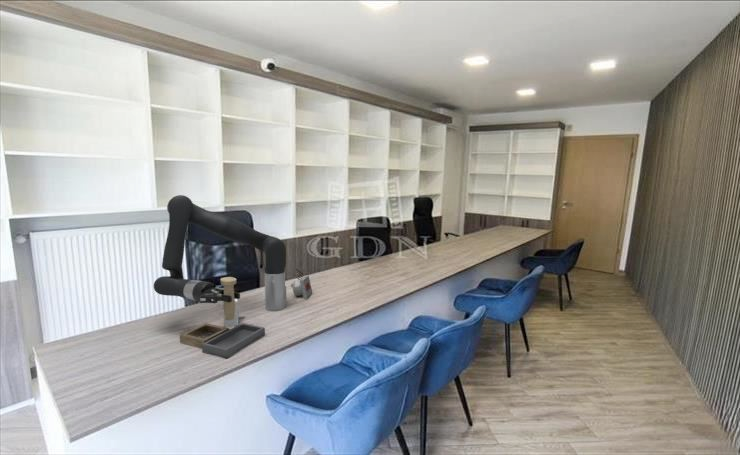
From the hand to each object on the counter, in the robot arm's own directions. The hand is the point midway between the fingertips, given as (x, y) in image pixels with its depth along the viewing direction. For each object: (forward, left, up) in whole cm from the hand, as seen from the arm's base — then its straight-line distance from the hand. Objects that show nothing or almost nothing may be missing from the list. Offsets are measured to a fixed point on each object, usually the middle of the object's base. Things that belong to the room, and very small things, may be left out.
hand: (235, 297), depth 128 cm
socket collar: (+2, -13, -18) cm, 22 cm away
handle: (0, -3, -9) cm, 9 cm away
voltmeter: (-61, -12, -18) cm, 65 cm away
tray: (0, -1, -18) cm, 18 cm away
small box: (-14, -16, -18) cm, 28 cm away
